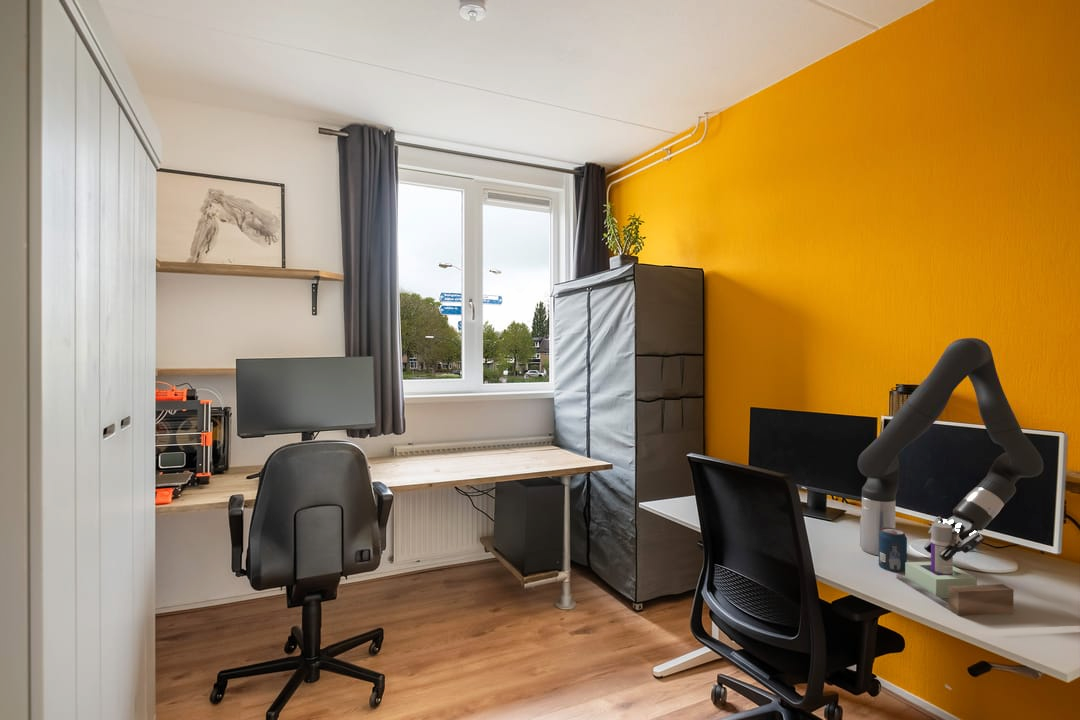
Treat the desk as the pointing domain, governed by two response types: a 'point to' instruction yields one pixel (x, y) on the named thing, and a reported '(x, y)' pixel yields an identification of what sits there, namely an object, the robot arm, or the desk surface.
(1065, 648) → the desk surface
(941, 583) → the socket block
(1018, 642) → the desk surface
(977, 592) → the walnut track
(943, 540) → the container
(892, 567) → the soda can
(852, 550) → the desk surface
